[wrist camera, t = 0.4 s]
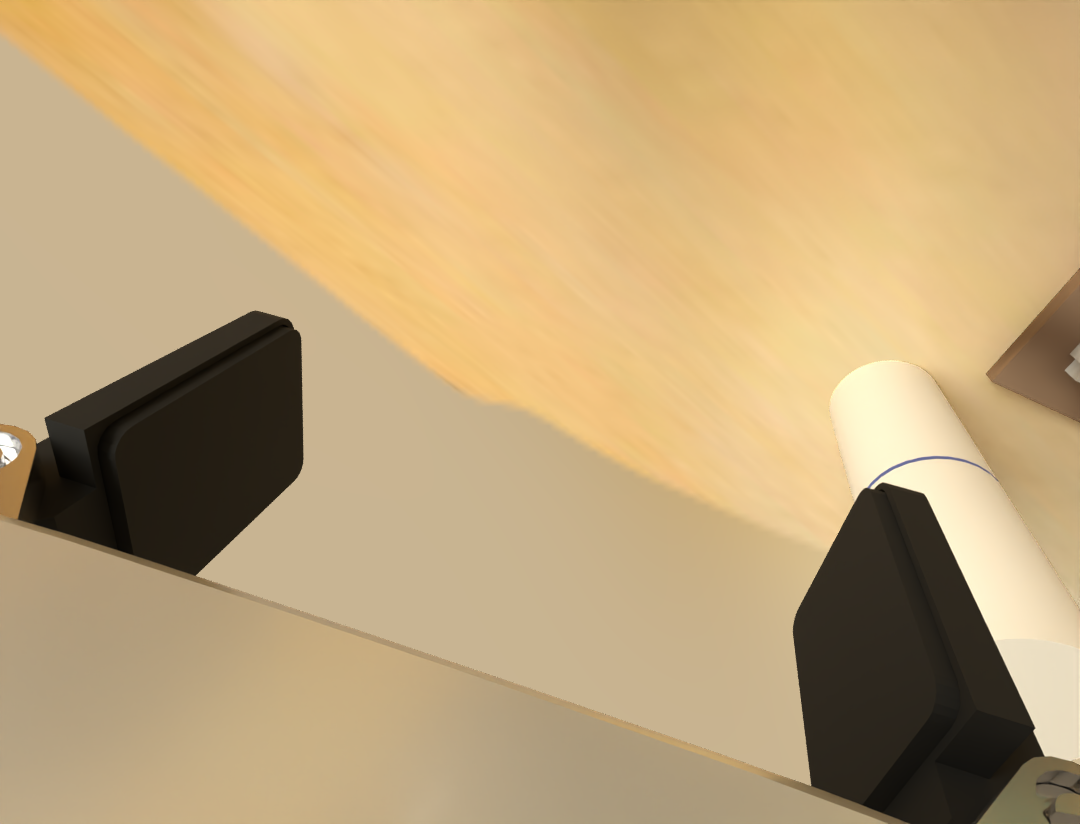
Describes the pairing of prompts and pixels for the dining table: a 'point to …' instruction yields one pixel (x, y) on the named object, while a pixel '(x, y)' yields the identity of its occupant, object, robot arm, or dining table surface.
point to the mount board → (1047, 355)
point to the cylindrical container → (969, 532)
